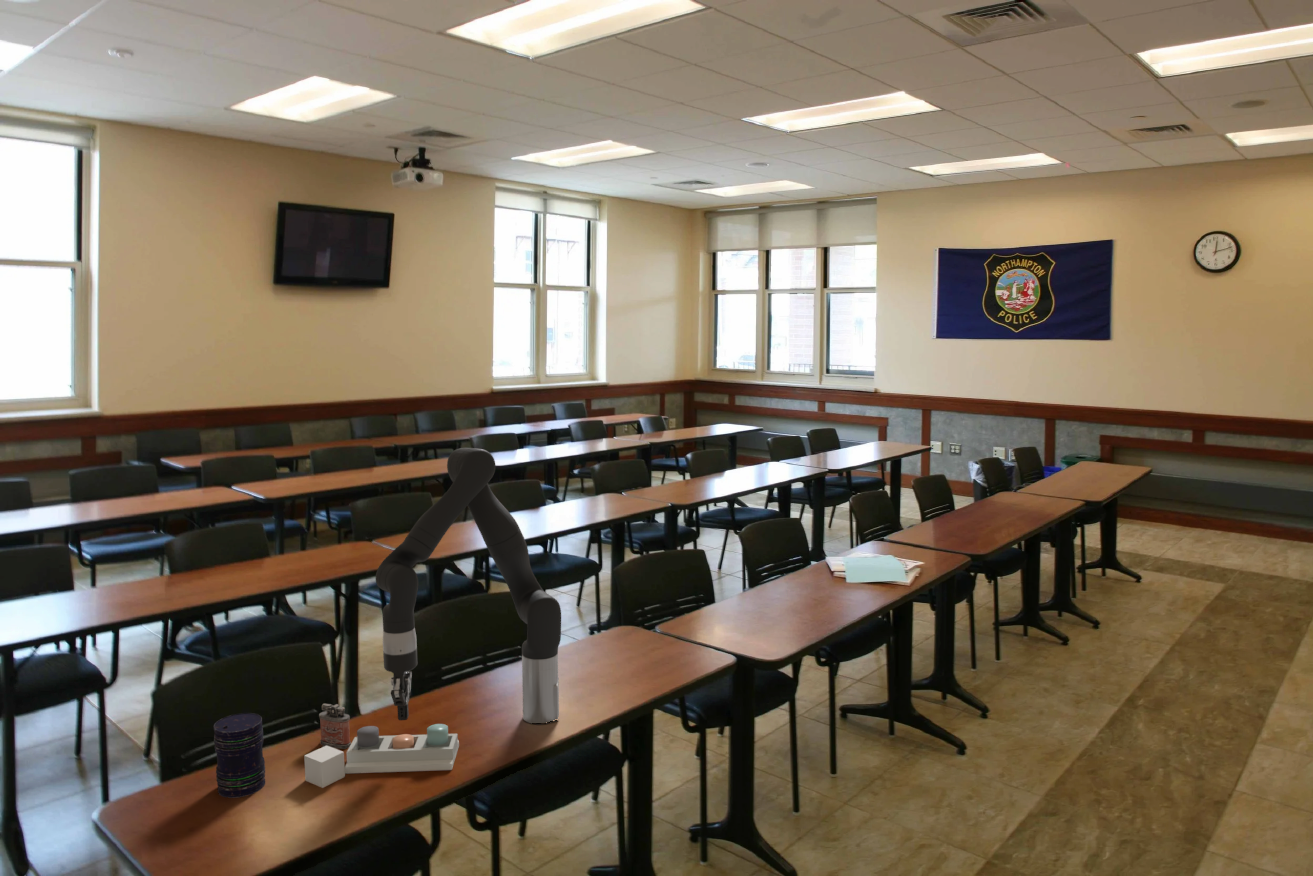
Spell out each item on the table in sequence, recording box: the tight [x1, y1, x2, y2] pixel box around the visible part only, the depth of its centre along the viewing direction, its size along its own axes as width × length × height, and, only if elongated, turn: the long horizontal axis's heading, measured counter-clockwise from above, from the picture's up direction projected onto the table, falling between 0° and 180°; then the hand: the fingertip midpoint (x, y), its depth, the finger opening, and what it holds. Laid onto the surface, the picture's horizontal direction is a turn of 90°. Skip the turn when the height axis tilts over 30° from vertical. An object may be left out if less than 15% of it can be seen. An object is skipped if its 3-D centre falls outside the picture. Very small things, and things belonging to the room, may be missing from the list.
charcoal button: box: [356, 725, 380, 747], centre depth 216 cm, size 5×5×3 cm
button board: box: [344, 733, 460, 775], centre depth 217 cm, size 24×12×4 cm, turn 94°
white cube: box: [304, 745, 346, 789], centre depth 208 cm, size 6×6×6 cm
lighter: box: [318, 703, 352, 750], centre depth 224 cm, size 8×3×10 cm, turn 71°
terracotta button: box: [392, 733, 414, 749], centre depth 216 cm, size 5×5×3 cm
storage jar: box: [213, 712, 266, 799], centre depth 203 cm, size 10×10×15 cm
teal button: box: [426, 723, 449, 745], centre depth 217 cm, size 5×5×3 cm
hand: (403, 718), depth 216 cm, fingers closed
